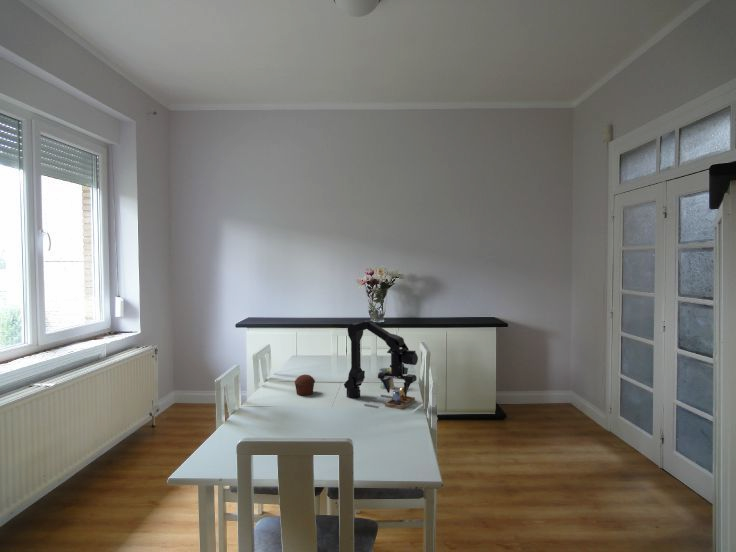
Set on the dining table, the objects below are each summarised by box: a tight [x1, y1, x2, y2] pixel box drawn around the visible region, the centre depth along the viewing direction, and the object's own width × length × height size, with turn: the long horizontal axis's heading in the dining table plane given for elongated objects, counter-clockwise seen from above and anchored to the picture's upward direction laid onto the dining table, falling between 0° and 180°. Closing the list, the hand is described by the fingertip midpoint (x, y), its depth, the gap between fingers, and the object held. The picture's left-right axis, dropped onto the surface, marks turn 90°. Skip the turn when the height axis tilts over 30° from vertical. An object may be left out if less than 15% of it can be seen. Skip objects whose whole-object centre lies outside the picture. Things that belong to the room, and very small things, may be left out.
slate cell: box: [392, 390, 400, 405], centre depth 225 cm, size 4×4×7 cm
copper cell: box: [399, 386, 408, 401], centre depth 232 cm, size 4×4×7 cm
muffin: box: [294, 374, 316, 397], centre depth 250 cm, size 12×11×10 cm
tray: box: [384, 395, 416, 410], centre depth 229 cm, size 9×16×2 cm, turn 150°
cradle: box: [363, 394, 393, 409], centre depth 231 cm, size 7×18×2 cm, turn 150°
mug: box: [379, 367, 396, 390], centre depth 257 cm, size 12×9×11 cm
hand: (397, 394), depth 225 cm, fingers open, 9 cm apart
